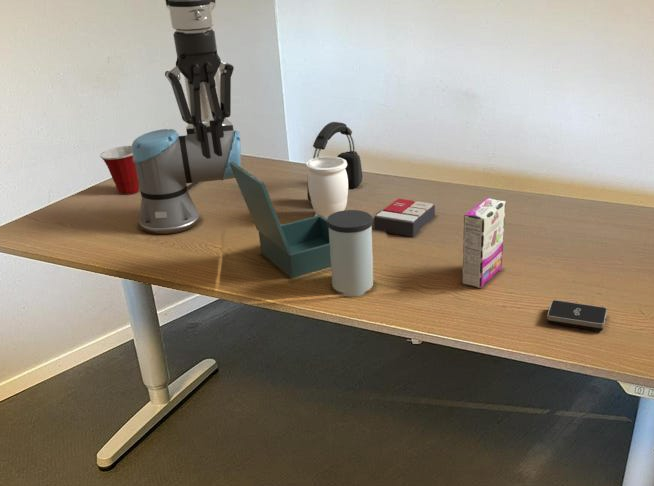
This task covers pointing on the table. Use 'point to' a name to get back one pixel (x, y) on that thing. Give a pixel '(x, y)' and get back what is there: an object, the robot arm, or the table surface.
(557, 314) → the external hard drive
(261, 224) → the chest lid
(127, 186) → the plastic cup
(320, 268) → the chest
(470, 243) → the candy bar box
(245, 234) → the table surface
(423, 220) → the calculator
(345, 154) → the headphones
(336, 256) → the canister
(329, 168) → the jar
